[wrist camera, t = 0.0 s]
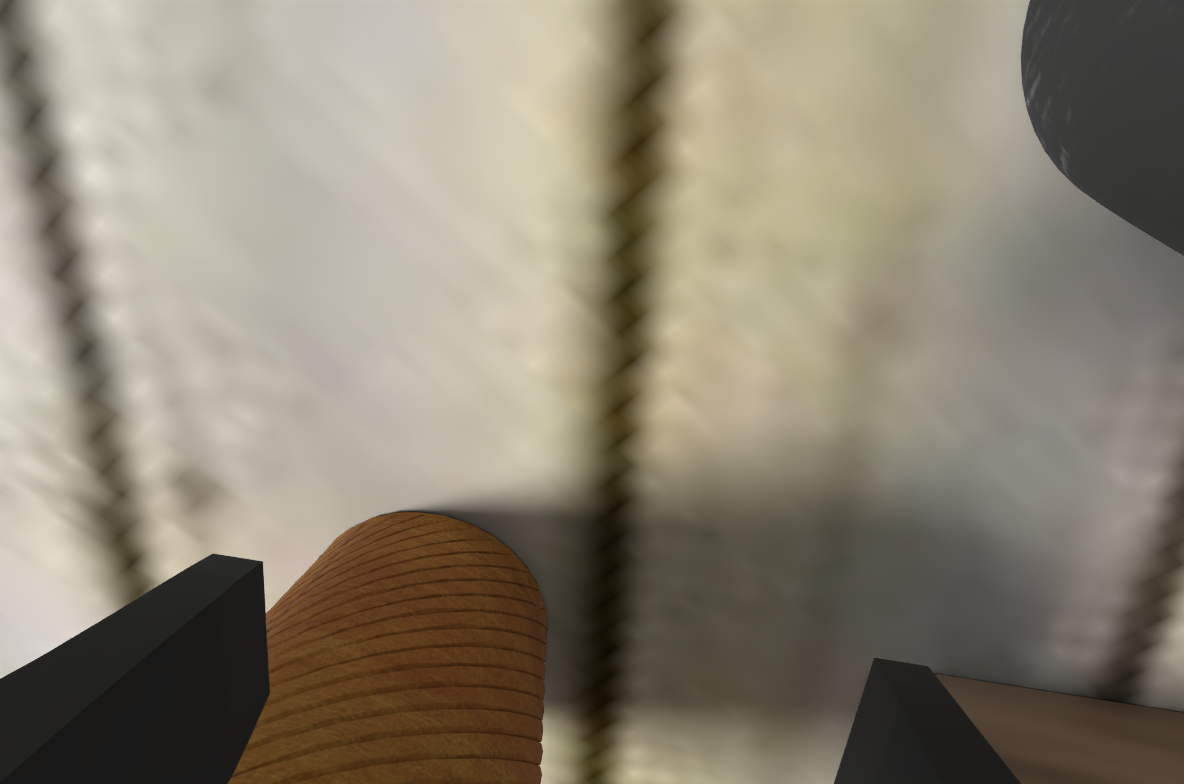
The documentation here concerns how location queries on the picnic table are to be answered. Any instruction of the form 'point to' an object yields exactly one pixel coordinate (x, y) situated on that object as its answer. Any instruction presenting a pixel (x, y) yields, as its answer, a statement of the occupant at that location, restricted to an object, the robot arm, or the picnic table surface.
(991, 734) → the divided wooden sorting box
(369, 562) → the disposable coffee cup
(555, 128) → the picnic table surface
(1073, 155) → the travel mug
